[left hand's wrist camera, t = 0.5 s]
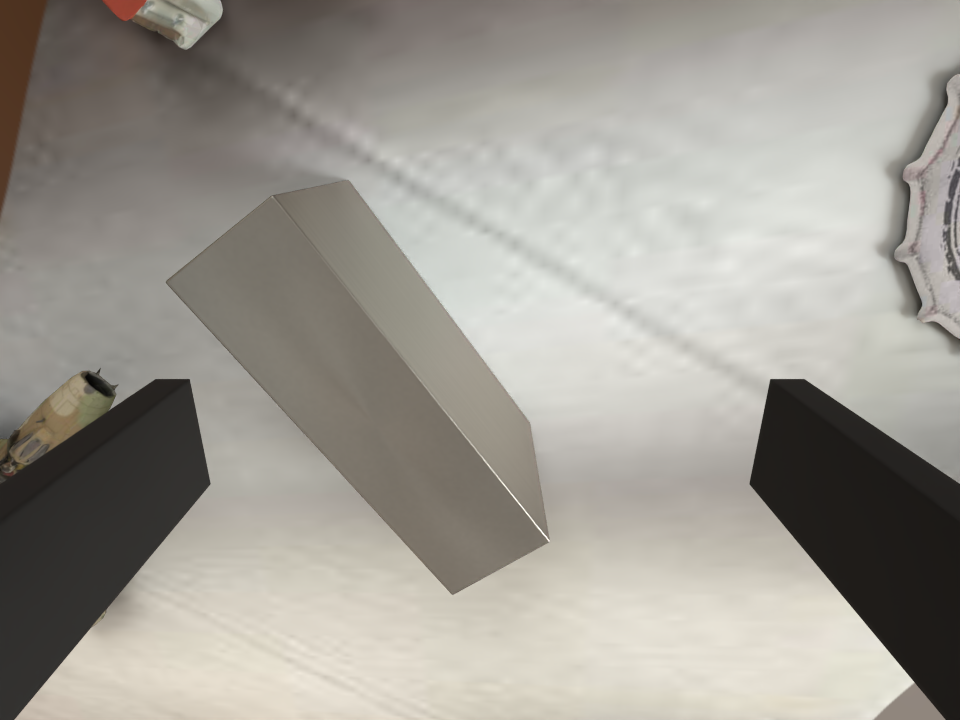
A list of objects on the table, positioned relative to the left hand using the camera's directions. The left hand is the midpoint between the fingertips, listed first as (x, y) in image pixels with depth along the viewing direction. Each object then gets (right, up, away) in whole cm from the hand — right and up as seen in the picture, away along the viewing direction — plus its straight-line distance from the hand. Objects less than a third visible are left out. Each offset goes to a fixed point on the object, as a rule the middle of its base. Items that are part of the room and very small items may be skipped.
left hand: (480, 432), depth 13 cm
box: (-5, +3, +25) cm, 25 cm away
